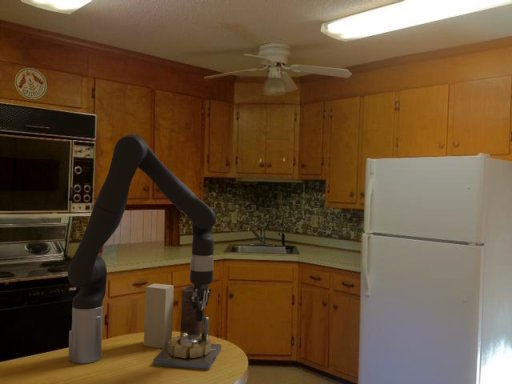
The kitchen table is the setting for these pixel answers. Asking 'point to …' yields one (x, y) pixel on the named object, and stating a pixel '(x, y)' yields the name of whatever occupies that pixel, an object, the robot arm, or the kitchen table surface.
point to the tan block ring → (196, 348)
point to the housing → (193, 363)
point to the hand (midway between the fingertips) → (199, 320)
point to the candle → (189, 314)
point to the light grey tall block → (158, 315)
